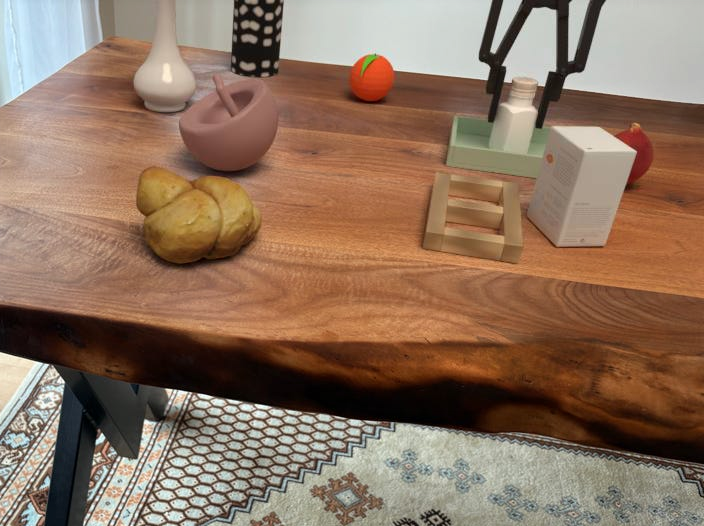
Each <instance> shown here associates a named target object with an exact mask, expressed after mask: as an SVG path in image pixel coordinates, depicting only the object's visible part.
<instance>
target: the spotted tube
mask: <svg viewBox="0 0 704 526" xmlns="http://www.w3.org/2000/svg"><path fill="white" fill-rule="evenodd" d="M284 3H285V0H233V11H232V12H233V13H232V31H231V32H232V35H231V56H230V57H231V58H230V71H231V72H232V73H234V74H237V75H239V76H243V77H253V78H265V77H272V76H275V75H277V74H278V73H279V69H280V67H279V66H280V55H281V44H282V43H281V41H282V31H283V30H282V28H283V16H284V6H285V4H284Z"/></svg>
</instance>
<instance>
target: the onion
mask: <svg viewBox="0 0 704 526" xmlns="http://www.w3.org/2000/svg"><path fill="white" fill-rule="evenodd" d="M613 136H614V137H615V138H617V139H618V140H620V141H622V142H623V143H625V144H626V145H628V146H629V147H631V148H632V149H634V150H635V151H637V154H636V157H635V160H634V162H633V165H632V168H631V171H630V174H629V177H628V180H627V183H626V185H630V184H631V183H635V182H636V181H637V180H639V179H640V178H642V177H643V176H644V175H645V174H646V173H647V172H648V171H649V169H650V168H651V166H652V164H653V161H654V148H653V145H652V142H651V141H650V139H649V137H648V136H647V134H646V133H645V132H644V131H643V129H642V128H641V125H640V124H639V123H637V122H632V123H630V124H629V128H628V129H626V130H623V131H620V132H618V133H616V134H615V135H613Z"/></svg>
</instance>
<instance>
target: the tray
mask: <svg viewBox="0 0 704 526" xmlns="http://www.w3.org/2000/svg"><path fill="white" fill-rule="evenodd" d="M493 124H494V123H490V122H488V118H480V117H473V116H463V115H456V114H454V115H453V120H452V123H451V129H450V133H449V140H448V146H447V153H446V161H445V166H446V167H450V168H457V169H465V170H470V171H471V170H472V171H478V172H479V171H480V172H486V173H487V172H488V173H493V172H494V173H495V174H500V173H501V174H502V175H509V176H516V177H523V178H531V179H537V176H538V172H539V168H540V165H541V161H542V157H543V154H544V150H545V147H546V143H547V139H548V136H549V132H550V128H551V127H552V126H545V125H543V127H542V129H538V128H536V126H534V130H533V134H532V137H531V141H530V145H529V148H528V152H527V154H525V153H517V152H509V151H502V150H494V149H489V140H490V136H491V132H492V128H493Z"/></svg>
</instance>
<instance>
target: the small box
mask: <svg viewBox="0 0 704 526" xmlns="http://www.w3.org/2000/svg"><path fill="white" fill-rule="evenodd" d="M550 127H551V128H550V132H549V136H548V139H547V143H546V147H545V150H544V154H543V157H542V161H541V165H540V168H539V172H538V176H537V178H535V183H534V187H533V190H532V194H531V198H530V202H529V205H528V208H527V212H526V217H527V219H529V221H531V223H532V224H534V226H535V227H536V228H537V229H538V230H539V231H540V232H541V233H542V234H543V235H545V237H546V238H547V239H548V240H549V241H550V242H551V243H552V244H553V245H554V246H555V247H556V248H562V247H563V248H564V247H567V248H569V247H572V248H573V247H605V246H606V244H607V241H608V238H609V235H610V232H611V230H612V228H613V227H612V226H613V224H614V220H615V218H616V215H617V212H618V209H619V206H620V203H621V200H622V197H623V195H624V192H625V189H626V185H627V184H626V183H627V180H628V177H629V174H630V171H631V168H632V165H633V162H634V160H635V157H636V154H637V151H635V150H634V149H632V148H631V147H629V146H628V145H626V144H625V143H623V142H622V141H620V140H618V139H617V138H615V137H614V136H615V135H612V134H611V133H609V132H608V131H606V130H605V129H603V128H602V127H600V126H581V125H580V126H579V125H578V126H577V125H575V126H574V125H553V126H550Z"/></svg>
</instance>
